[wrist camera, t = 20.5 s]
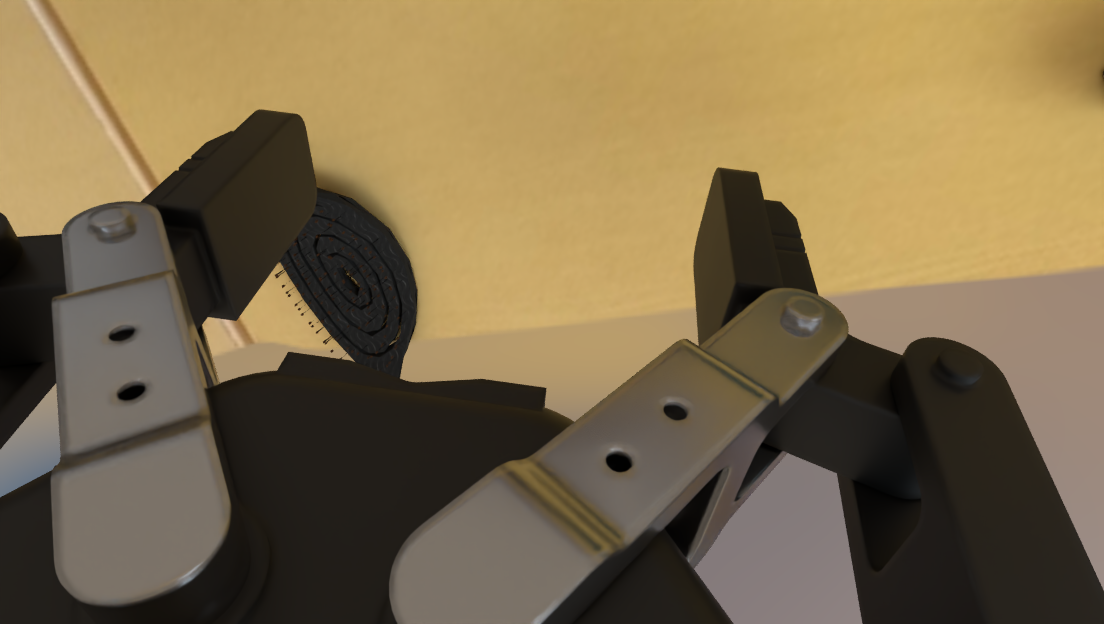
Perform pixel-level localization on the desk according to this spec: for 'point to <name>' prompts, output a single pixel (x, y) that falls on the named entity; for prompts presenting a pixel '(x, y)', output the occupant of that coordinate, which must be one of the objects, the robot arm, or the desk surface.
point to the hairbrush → (372, 264)
